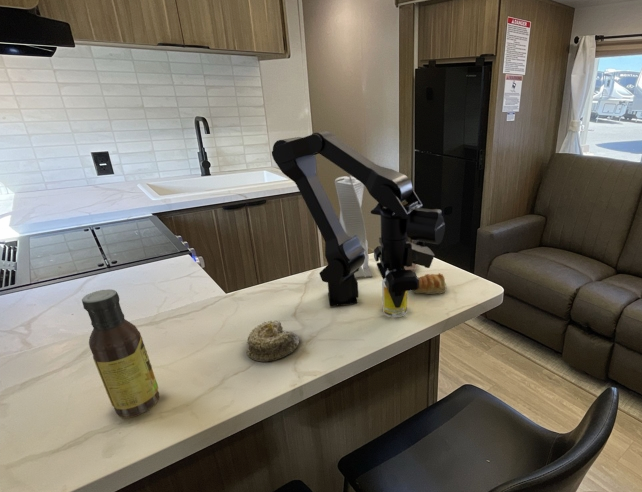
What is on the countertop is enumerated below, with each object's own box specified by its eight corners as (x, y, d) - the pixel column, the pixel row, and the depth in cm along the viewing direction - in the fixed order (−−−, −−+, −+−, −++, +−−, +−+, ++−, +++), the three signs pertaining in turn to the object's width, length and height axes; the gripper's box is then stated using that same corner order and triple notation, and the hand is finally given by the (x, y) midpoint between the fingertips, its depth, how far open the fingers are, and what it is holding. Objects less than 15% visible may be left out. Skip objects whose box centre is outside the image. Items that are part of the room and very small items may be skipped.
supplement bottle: (410, 316, 90) (410, 275, 86) (386, 320, 88) (385, 279, 84) (402, 304, 95) (402, 265, 91) (380, 308, 93) (379, 268, 89)
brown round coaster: (384, 278, 108) (384, 274, 107) (377, 263, 116) (377, 259, 116) (420, 274, 110) (420, 270, 110) (410, 260, 119) (411, 256, 119)
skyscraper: (373, 279, 107) (370, 174, 95) (342, 282, 105) (335, 175, 93) (368, 266, 114) (364, 167, 103) (339, 269, 112) (332, 168, 101)
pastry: (411, 297, 98) (411, 283, 97) (406, 284, 104) (406, 271, 103) (448, 293, 100) (448, 279, 99) (440, 281, 106) (441, 268, 105)
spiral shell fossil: (263, 372, 73) (256, 348, 70) (238, 349, 79) (230, 327, 76) (309, 345, 79) (304, 322, 77) (283, 326, 85) (277, 304, 83)
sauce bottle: (169, 399, 65) (137, 292, 57) (128, 425, 60) (86, 311, 52) (146, 386, 68) (112, 281, 60) (105, 409, 63) (62, 299, 55)
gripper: (445, 249, 78) (441, 317, 84) (419, 220, 94) (418, 279, 101) (388, 254, 75) (389, 324, 81) (372, 223, 91) (374, 284, 98)
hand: (394, 300), depth 90 cm, fingers closed on supplement bottle, 5 cm apart
